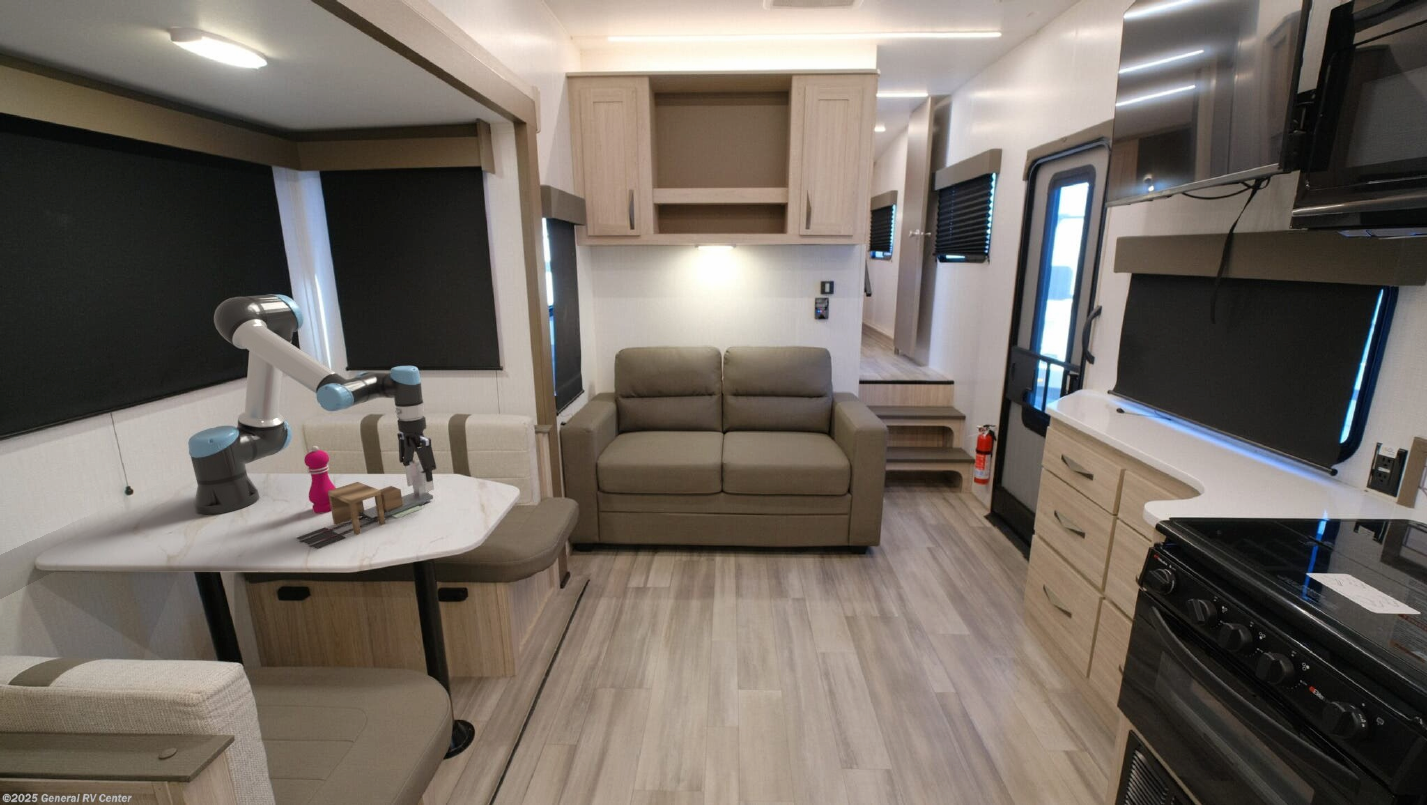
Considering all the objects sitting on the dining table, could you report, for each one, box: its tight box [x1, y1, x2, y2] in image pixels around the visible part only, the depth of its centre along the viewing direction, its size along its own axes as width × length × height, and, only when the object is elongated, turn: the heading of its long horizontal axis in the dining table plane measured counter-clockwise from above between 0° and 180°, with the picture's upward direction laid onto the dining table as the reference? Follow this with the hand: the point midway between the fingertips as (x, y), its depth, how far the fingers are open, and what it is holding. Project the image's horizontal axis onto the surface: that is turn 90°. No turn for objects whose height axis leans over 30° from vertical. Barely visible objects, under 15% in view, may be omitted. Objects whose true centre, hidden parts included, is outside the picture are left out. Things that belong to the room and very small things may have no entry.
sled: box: [359, 458, 434, 522], centre depth 170 cm, size 7×18×12 cm, turn 149°
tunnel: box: [328, 481, 386, 536], centre depth 161 cm, size 12×8×10 cm, turn 59°
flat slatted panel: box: [296, 526, 347, 550], centre depth 154 cm, size 11×7×1 cm, turn 59°
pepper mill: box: [303, 445, 336, 514], centre depth 169 cm, size 7×7×20 cm
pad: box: [391, 505, 423, 519], centre depth 172 cm, size 11×8×1 cm
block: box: [379, 485, 403, 511], centre depth 168 cm, size 5×5×5 cm
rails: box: [298, 502, 426, 548], centre depth 164 cm, size 6×32×1 cm, turn 149°
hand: (420, 487), depth 177 cm, fingers open, 8 cm apart
